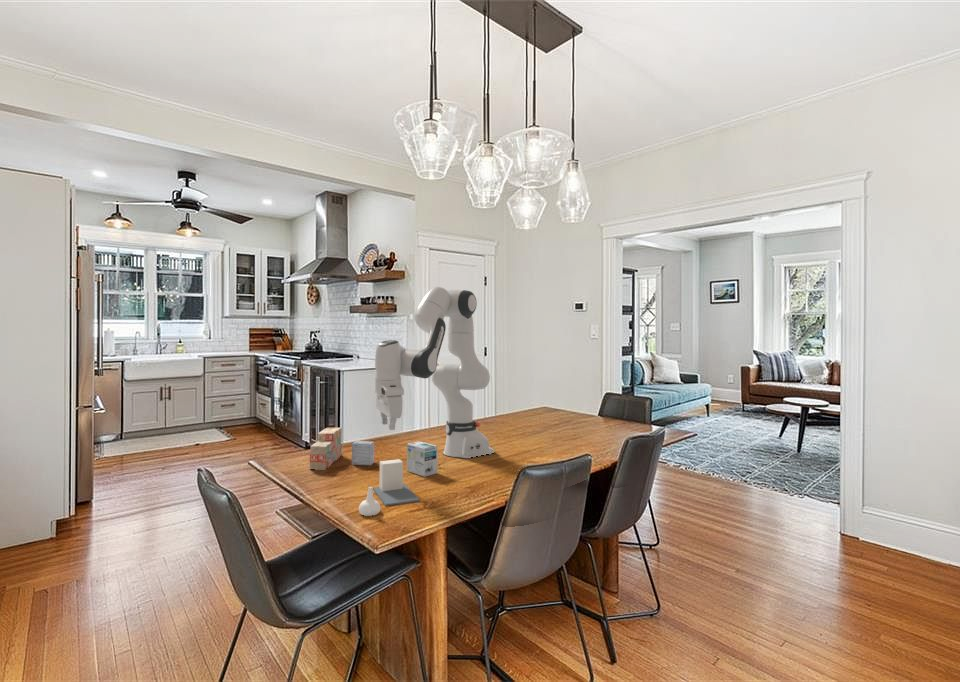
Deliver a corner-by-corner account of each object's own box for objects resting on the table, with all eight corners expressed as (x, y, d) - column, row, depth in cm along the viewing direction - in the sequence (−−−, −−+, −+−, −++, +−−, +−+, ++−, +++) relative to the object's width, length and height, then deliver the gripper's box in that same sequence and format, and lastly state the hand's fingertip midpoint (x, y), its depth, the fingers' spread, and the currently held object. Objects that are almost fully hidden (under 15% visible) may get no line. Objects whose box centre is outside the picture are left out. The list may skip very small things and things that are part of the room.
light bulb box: (438, 473, 186) (438, 445, 185) (424, 477, 181) (424, 448, 180) (419, 467, 193) (419, 440, 192) (406, 471, 188) (406, 443, 188)
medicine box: (374, 462, 199) (374, 441, 199) (370, 465, 194) (371, 444, 194) (355, 462, 200) (355, 440, 199) (351, 465, 195) (351, 443, 195)
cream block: (399, 485, 170) (399, 459, 169) (402, 488, 166) (403, 462, 166) (379, 487, 167) (379, 461, 166) (382, 491, 163) (382, 464, 163)
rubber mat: (404, 485, 171) (404, 483, 171) (419, 501, 156) (419, 499, 156) (372, 489, 167) (372, 487, 167) (385, 506, 151) (385, 504, 151)
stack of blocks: (325, 470, 188) (326, 438, 187) (309, 470, 188) (309, 438, 187) (341, 455, 209) (341, 427, 209) (327, 455, 209) (327, 426, 209)
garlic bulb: (355, 517, 144) (354, 491, 143) (363, 507, 150) (362, 482, 149) (376, 519, 143) (375, 493, 142) (383, 509, 149) (382, 484, 148)
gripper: (371, 384, 178) (372, 421, 179) (386, 391, 160) (386, 433, 161) (389, 383, 181) (389, 420, 182) (405, 390, 163) (405, 432, 163)
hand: (388, 426), depth 171 cm, fingers open, 8 cm apart
